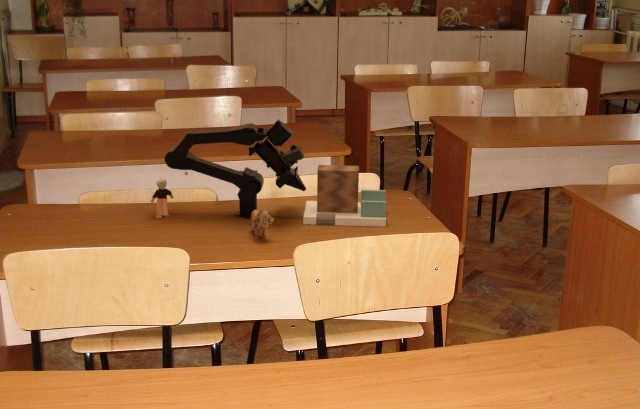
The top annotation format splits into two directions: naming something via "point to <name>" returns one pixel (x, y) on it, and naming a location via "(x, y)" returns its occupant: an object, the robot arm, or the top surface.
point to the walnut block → (337, 188)
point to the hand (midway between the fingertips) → (305, 190)
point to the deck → (368, 213)
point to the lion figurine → (260, 222)
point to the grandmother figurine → (161, 198)
